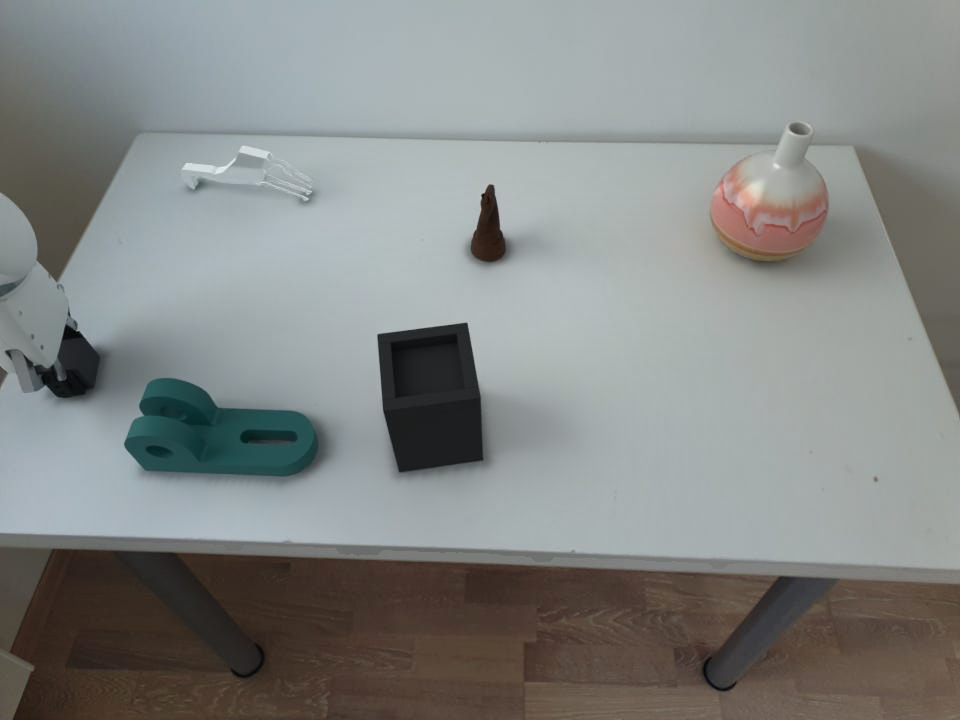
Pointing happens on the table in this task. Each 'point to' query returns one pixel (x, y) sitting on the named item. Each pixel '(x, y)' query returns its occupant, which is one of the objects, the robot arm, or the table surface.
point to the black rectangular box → (431, 396)
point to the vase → (772, 200)
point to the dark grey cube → (79, 360)
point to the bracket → (215, 434)
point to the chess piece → (488, 230)
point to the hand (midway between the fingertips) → (76, 373)
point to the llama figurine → (246, 171)
